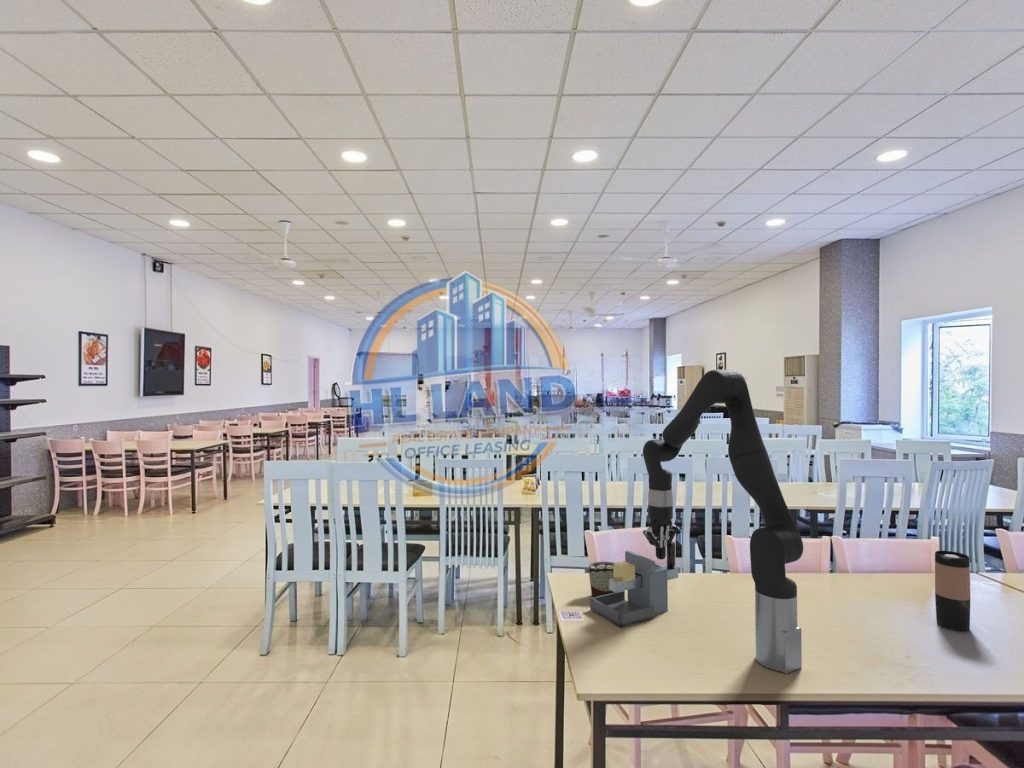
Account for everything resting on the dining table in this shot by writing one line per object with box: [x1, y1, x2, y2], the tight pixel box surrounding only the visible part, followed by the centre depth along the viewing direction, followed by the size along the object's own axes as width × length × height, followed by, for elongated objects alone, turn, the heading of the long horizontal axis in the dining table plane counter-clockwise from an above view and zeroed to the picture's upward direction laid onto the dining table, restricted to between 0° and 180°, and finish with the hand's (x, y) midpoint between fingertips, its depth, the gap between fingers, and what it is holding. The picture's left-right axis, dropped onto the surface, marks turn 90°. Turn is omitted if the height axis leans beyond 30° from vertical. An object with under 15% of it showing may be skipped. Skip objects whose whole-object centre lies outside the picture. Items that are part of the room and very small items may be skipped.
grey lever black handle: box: [609, 540, 679, 593], centre depth 162 cm, size 3×25×11 cm, turn 118°
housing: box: [624, 550, 669, 615], centre depth 162 cm, size 12×7×16 cm, turn 28°
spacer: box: [613, 560, 635, 582], centre depth 158 cm, size 4×4×4 cm
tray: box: [590, 590, 655, 629], centre depth 157 cm, size 14×13×4 cm
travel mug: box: [934, 550, 971, 633], centre depth 148 cm, size 8×8×20 cm
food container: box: [586, 561, 616, 598], centre depth 172 cm, size 12×6×10 cm, turn 84°
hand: (660, 558), depth 165 cm, fingers closed
